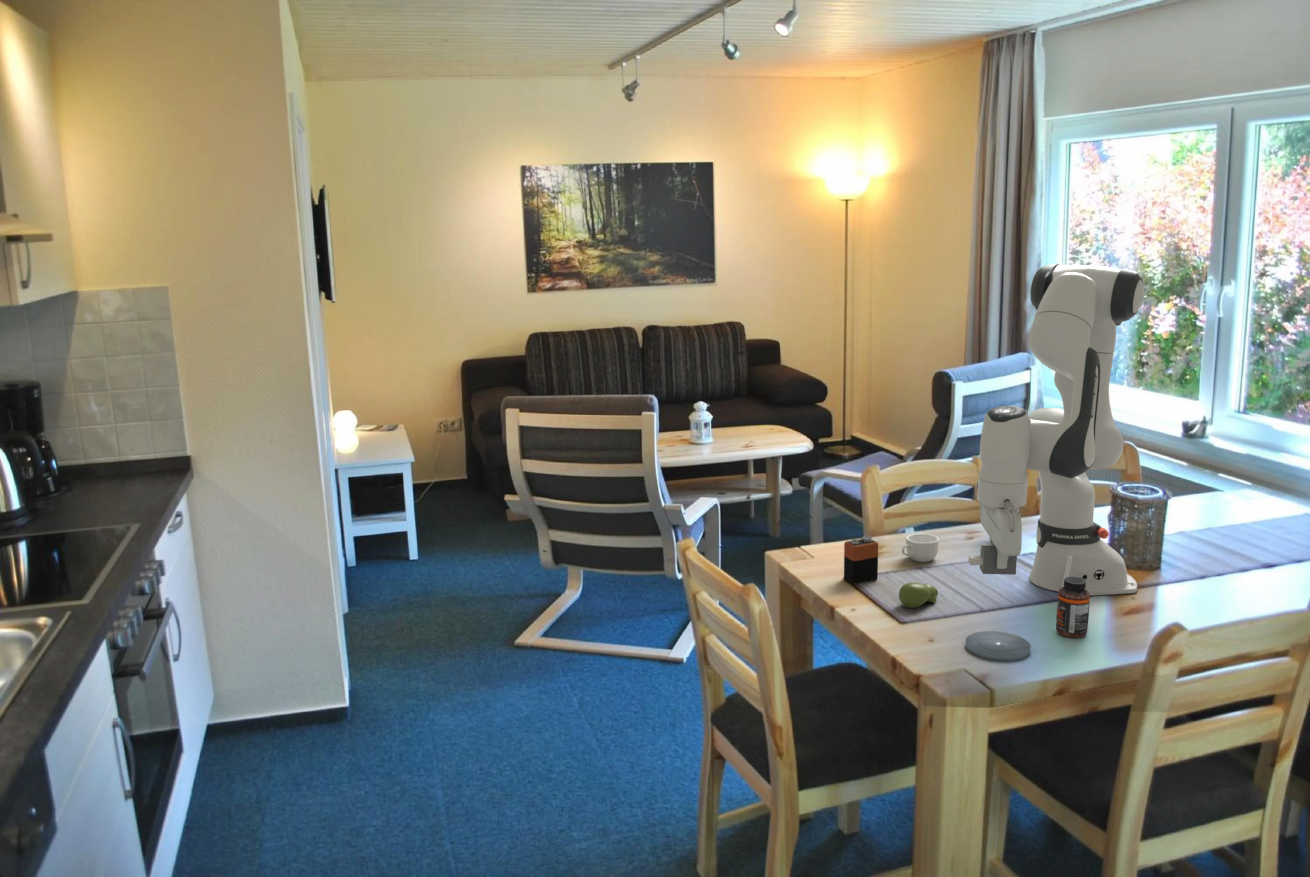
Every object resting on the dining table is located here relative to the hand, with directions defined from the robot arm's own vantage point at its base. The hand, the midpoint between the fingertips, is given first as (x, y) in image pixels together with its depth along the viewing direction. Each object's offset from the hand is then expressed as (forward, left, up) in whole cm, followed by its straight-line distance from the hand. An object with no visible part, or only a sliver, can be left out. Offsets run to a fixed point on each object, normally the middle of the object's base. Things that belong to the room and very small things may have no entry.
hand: (998, 563), depth 199 cm
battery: (+22, -37, -18) cm, 46 cm away
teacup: (+7, -51, -18) cm, 54 cm away
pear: (+11, -22, -18) cm, 31 cm away
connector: (+1, 0, -2) cm, 2 cm away
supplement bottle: (-17, -8, -18) cm, 25 cm away
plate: (-1, 0, -17) cm, 17 cm away
